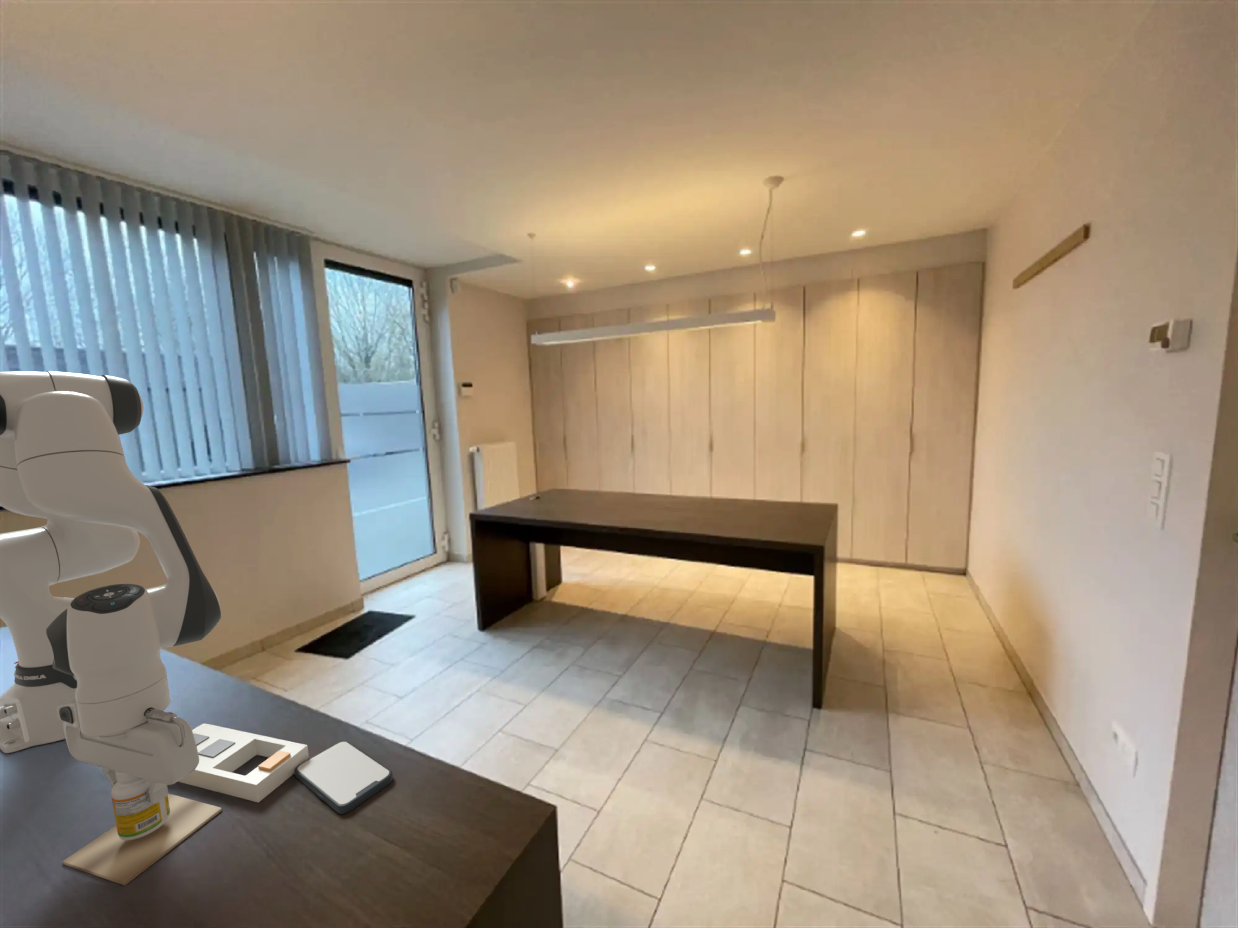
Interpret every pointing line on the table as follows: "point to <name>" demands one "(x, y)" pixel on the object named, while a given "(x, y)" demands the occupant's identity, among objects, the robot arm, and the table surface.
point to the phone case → (343, 776)
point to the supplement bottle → (136, 807)
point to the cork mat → (141, 843)
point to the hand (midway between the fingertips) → (140, 794)
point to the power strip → (242, 762)
